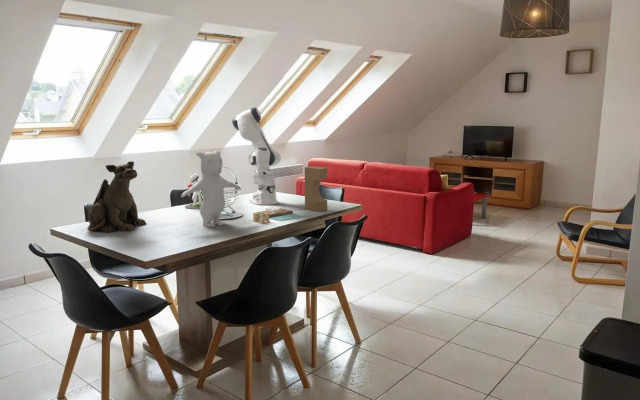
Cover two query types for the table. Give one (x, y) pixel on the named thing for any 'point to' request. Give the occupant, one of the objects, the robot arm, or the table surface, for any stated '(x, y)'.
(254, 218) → the oak rack
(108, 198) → the sculpture
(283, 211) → the deck
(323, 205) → the decorative block
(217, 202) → the toy bear
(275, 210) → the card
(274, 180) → the robot arm
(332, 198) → the table surface
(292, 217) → the mat
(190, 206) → the figurine
